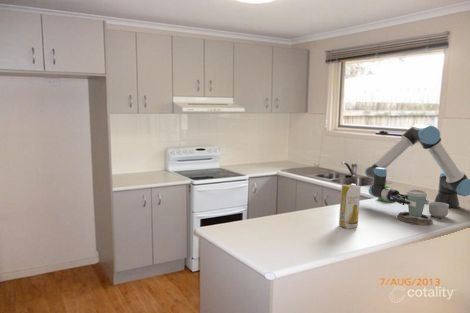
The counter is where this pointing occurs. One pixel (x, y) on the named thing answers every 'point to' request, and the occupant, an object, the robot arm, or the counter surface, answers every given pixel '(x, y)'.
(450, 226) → the counter surface
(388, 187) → the fruit basket
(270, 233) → the counter surface
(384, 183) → the robot arm
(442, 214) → the teacup
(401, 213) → the ring board
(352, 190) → the juice carton
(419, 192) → the disposable coffee cup
